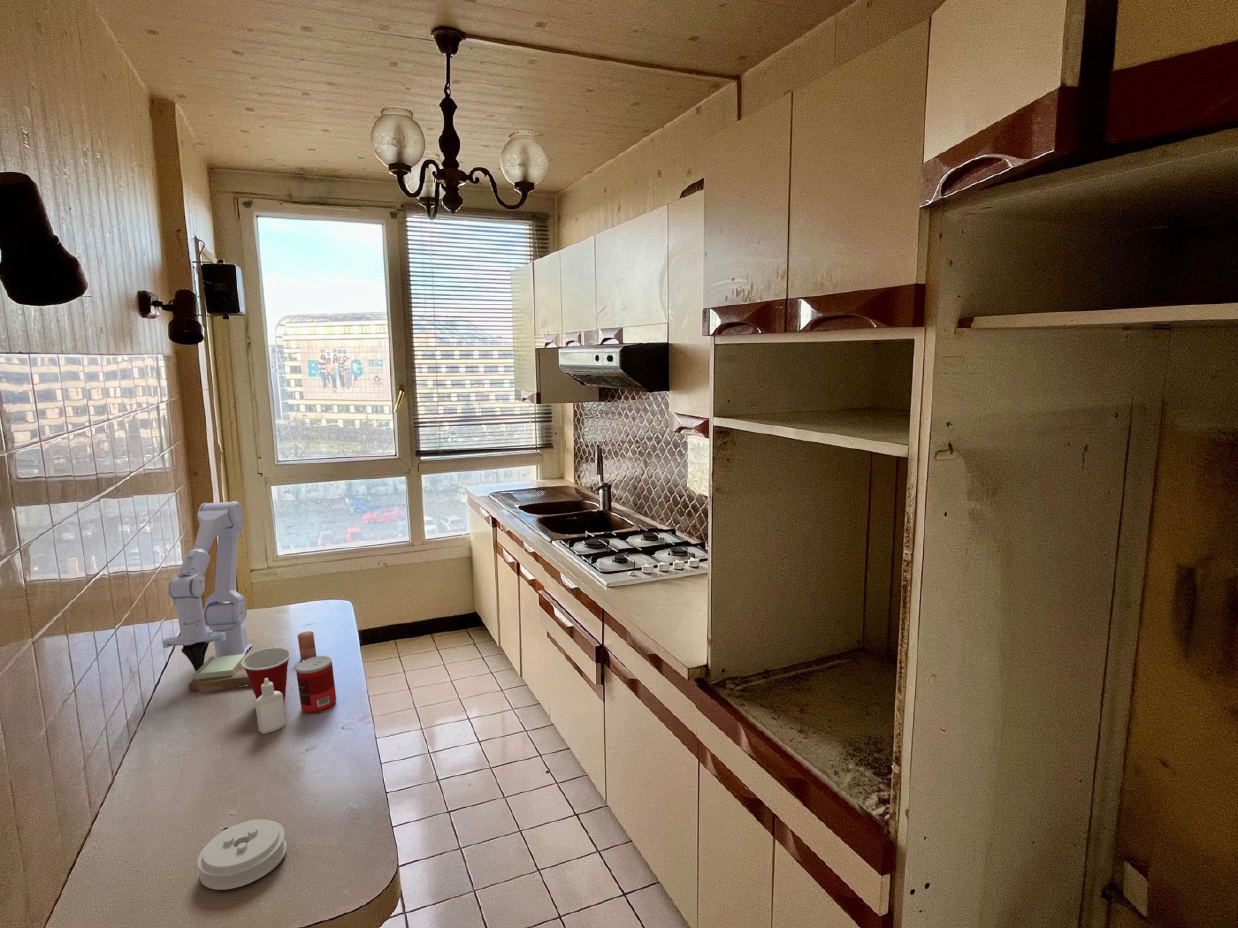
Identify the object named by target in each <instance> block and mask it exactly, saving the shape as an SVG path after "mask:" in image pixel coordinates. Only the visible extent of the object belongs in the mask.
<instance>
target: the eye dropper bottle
mask: <svg viewBox="0 0 1238 928" xmlns="http://www.w3.org/2000/svg"><path fill="white" fill-rule="evenodd" d="M261 690H262V695H261V696H260V697H259V698H258V699H256V700H255V702H254V704H255V713H256V719H257V726H258V731H259V732H260V734H263V735H266V734H270V733H272V732H273V733H274V732H276V731H278V730H279V729H282V728H284V727H285V726H286V725H287V722H288V721H287V715H286V706H285V700H284V699H283V694H282V693H281V692H279V691H274V687H273V683H272V682H269V680H268V678H265V679H264V684H262V685H261Z"/></svg>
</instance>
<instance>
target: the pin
mask: <svg viewBox="0 0 1238 928" xmlns="http://www.w3.org/2000/svg"><path fill="white" fill-rule="evenodd" d="M314 634H315V633H314V631H303V632H300V633H298V634H297V640H298V648H299V656H300V660H301V661H302V660H306V659H309V658H312V657H317V648H316V644H315V635H314Z"/></svg>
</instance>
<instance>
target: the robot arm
mask: <svg viewBox="0 0 1238 928" xmlns="http://www.w3.org/2000/svg"><path fill="white" fill-rule="evenodd" d="M197 521H198V523H199V526H198V530H197V534H196V538H195V541H194V545H193V548H192V549H191V550H189V551H187V552H186V554H185V557H184V559H183V562H182V564H181V566H180V569H179V571H178V573H177V576H175V577H174V578H172V579H171V580H170V582H169V583H168V591H167V593H168V594H167V595H168V596H169V598H170V599H171V601H172V604H173V606H174V607H176V609H175V610H176V613H177V619H178V620H177V621H178V625H179V633H180V635H178V636H172V637H166V638H164V639H163V640H162V647H163V649H167V648H170V647H175V646H176V647H177V646H178V647H179V646H182V648H181V649H180V650H181V653H182V654H184V656H185V657H186V658H187V659H188V661H189V662H190V664H191V665H192V667H193V670H194V672H196V671H197V670H198V669H199V668H200V667H201V666H202V665H203V664H204V663H205V658H206V654H207V653H206V652H207V650H208V647H209V644H210V643H213V645H214V652H215V656H214V657H220V656H229V655H238V654H245V653H246V654H247V652H248V651H249V650H250V649H251V648H252V646H253V644H251V643H250V644H249V640H248V634H247V633H248V632H247V627H246V624H245V623H244V621H246V618H247V614H248V611H247V606H246V597H245V596H243V595H242V594H241V593H239V592H238V591H236V589H237V570H238V569H237V568H238V554H239V553H238V550H239V549H238V548H239V537H240V536H239V534H240V533H239V532H242V530H243V526H244V509H243V507H242V505H241V504H240V502H239V501H238V500H237V501H236V500H235V501H234V500H233V501H225V502H210V503H209V502H203V503H201V504H200V506H199V508H198V511H197ZM216 537H217V552H216V568H215V583H214V584H215V585H214V592H213V593H212V594H211V595H209V596H208V597H207V598H206V599H205V603H204V607H203V599H202V595H203V594H204V592H205V589H206V587H205V586H206V584H205V582H206V576H205V574H206V571H207V568H208V565H209V563H210V560H211V556H210V554H209V551H210V549H211V547H212V545H213V542H214V540H215V539H216ZM207 627H208V629H209V630H211V631H207ZM250 647H251V648H250ZM249 648H250V649H249ZM247 650H248V651H247Z"/></svg>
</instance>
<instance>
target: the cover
mask: <svg viewBox="0 0 1238 928" xmlns="http://www.w3.org/2000/svg"><path fill="white" fill-rule="evenodd" d="M246 656H247V653H246V654H238V655H229V656H220V657H215V656H210V657H208V658H207V660H206V661H204V664H203V665H202V666H201V667H200V668H199V669H198V670H197V671H195V673H194V678H195V680H197V679H206V678H215V677H223V676H232V675H234V674H235V672H236V671H237V670H238V669H239V668H240V666H241V662H242V659H243V658H244V657H246Z"/></svg>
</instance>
